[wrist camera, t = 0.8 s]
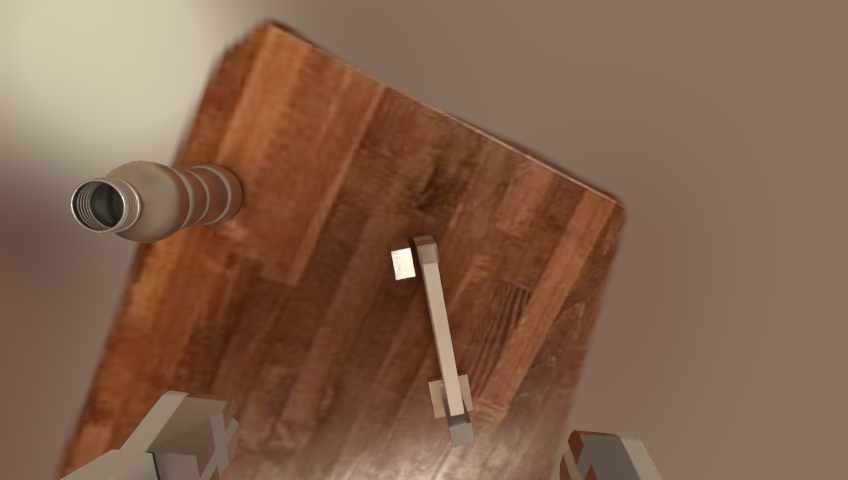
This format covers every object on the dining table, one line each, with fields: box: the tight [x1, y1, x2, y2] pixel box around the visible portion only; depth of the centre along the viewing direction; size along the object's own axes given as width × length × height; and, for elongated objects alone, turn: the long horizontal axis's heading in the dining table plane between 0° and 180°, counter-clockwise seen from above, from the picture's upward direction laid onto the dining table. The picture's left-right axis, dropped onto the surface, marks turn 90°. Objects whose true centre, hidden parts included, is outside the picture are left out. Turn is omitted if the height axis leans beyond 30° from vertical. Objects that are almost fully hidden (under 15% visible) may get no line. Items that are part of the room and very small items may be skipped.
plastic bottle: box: [70, 161, 242, 243], centre depth 38 cm, size 6×7×20 cm
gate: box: [414, 235, 464, 416], centre depth 47 cm, size 19×2×6 cm, turn 10°
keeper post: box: [391, 237, 415, 280], centre depth 46 cm, size 3×2×8 cm, turn 10°
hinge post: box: [428, 371, 475, 447], centre depth 49 cm, size 5×5×9 cm
